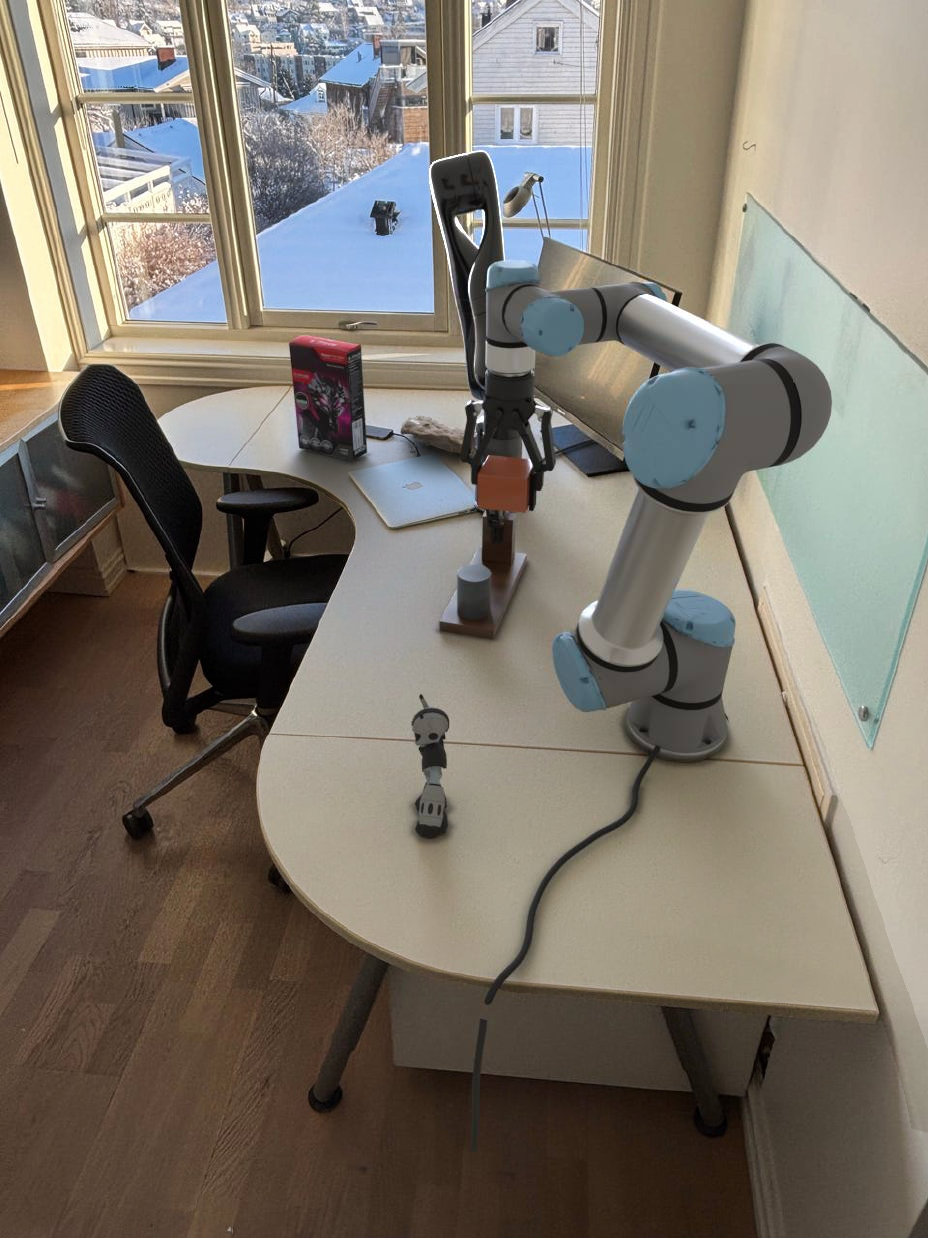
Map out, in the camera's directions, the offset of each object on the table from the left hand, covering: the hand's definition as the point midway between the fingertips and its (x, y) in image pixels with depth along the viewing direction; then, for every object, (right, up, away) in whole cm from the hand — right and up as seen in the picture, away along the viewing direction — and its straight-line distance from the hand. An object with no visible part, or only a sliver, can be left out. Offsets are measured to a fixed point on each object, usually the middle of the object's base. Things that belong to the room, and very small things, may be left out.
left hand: (498, 537), depth 180 cm
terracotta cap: (0, +4, -27) cm, 27 cm away
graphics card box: (-40, +26, +51) cm, 69 cm away
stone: (-13, +28, +54) cm, 62 cm away
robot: (-11, -43, -52) cm, 69 cm away
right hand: (0, +3, -27) cm, 27 cm away
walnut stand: (-3, -11, -4) cm, 12 cm away
